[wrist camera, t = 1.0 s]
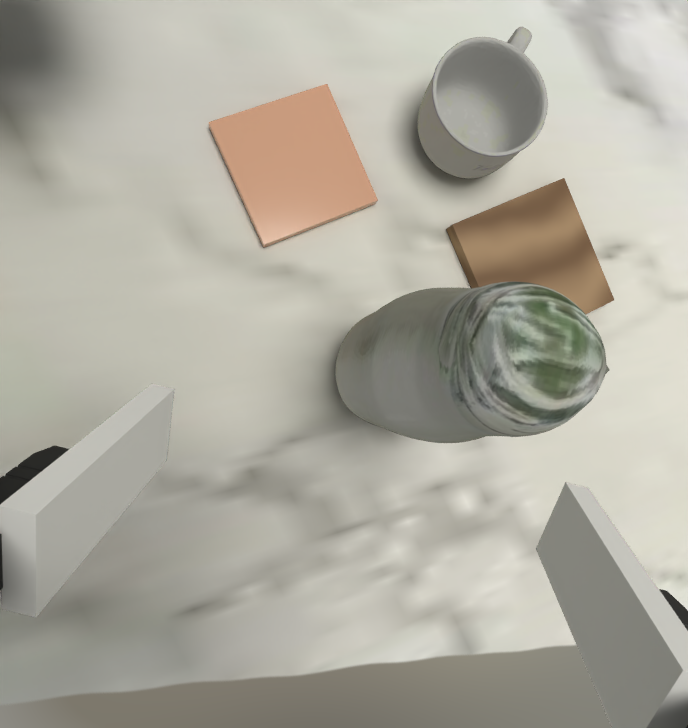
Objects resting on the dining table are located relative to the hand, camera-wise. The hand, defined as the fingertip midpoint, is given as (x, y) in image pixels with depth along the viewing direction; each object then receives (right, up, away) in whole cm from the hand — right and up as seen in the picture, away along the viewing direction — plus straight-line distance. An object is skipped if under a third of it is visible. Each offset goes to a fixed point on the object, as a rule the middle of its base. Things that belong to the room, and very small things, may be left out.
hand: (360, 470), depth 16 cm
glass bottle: (+2, +3, +31) cm, 32 cm away
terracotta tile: (-5, +22, +30) cm, 38 cm away
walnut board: (+19, +14, +35) cm, 42 cm away
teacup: (+12, +28, +35) cm, 46 cm away
